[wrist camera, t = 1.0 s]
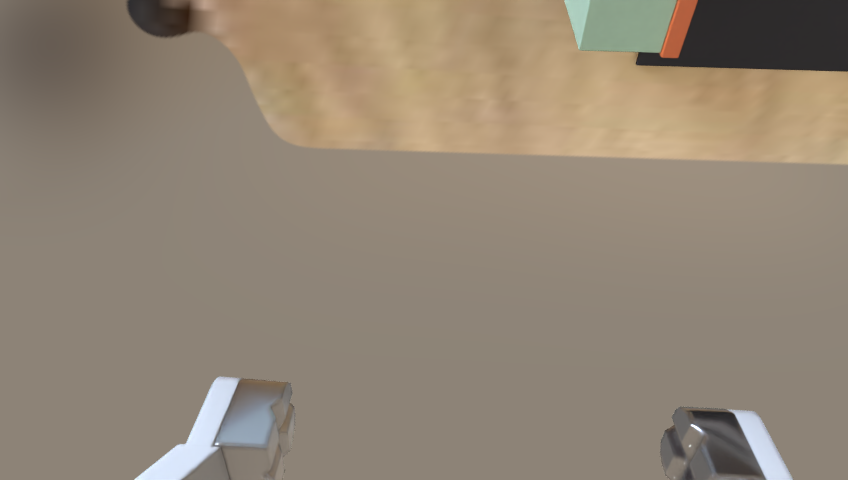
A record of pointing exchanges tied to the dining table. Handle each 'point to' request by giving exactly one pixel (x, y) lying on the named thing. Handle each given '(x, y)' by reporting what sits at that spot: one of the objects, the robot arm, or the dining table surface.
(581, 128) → the dining table surface
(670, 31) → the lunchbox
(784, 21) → the mat
